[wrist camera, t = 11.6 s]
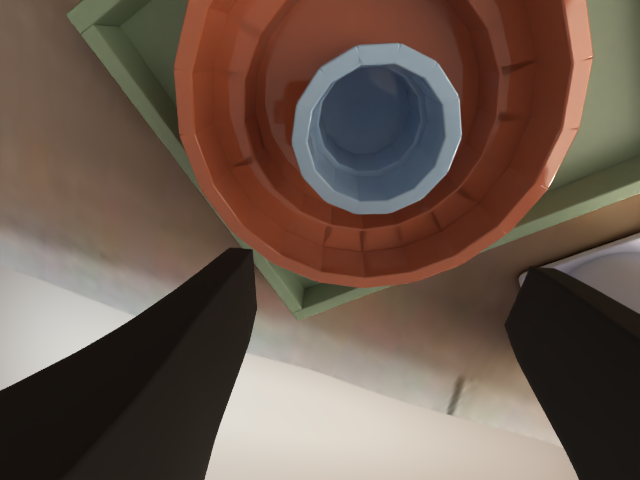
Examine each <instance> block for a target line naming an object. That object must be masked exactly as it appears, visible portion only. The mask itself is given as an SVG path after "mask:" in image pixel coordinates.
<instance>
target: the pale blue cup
mask: <svg viewBox="0 0 640 480" xmlns="http://www.w3.org/2000/svg"><path fill="white" fill-rule="evenodd" d="M458 96H459V95H458V93H457V91H456V90H455V88H454V87H453V85H452V83H451V82H450V80H449V79H448V77H447V76H446V74H445V72H444V71H443V69H442V68H441V66H440V64H439V63H437V62H436V60H434V59H432V58H430V57H428V56H426V55H424V54H422V53H420V52H418V51H416V50H414V49H412V48H410V47H408V46H406V45H404V44H402V43H368V44H353V45H350V46H348V47H346V48H345V49H343V50H342V51H340V52H338V53H337V54H335V55H333V56H332V57H330V58H329V59H327V60H326V61H325V62H324V63H323V64H322V65H321V67H320V68H319V69H318V70H317V72H316V73H315V75H314V76H313V78H312V79H311V81H310V83H309V84H308V86H307V87H306V89H305V90H304V92H303V94H302V95H301V97H300V98H299V100H298V101H297V105H296V108H295V116H294V123H293V131H292V139H291V141H292V147H293V150H294V154H295V157H296V160H297V163H298V166H299V169H300V172H301V175H302V176H303V179H304V180H305V181H306V182H307V183H308V184H309V185H310V186H311V187H312V188H313V189H314V190H315V191H316V193H317V194H318V195H319V196H320V197H321V198H322V199H323V200H324V201H326V202H327V203H329V204H332V205H334V206H337V207H339V208H342V209H344V210H346V211H349V212H351V213H354V214H388V213H392V212H395V211H397V210H399V209H401V208H404V207H406V206H408V205H411V204H413V203H415V202H417V201H420V200H421V199H423V198H424V197H425V196H426V195H427V194H428V193H429V192H430V191H431V190H432V189H433V188H434V187H435V186H436V185H437V183H438V182H439V181H440V180H441V179H442V178H443V177H444V176H445V175H446V174H447V172H448V171H449V169H450V166H451V164H452V161H453V158H454V156H455V153H456V151H457V148H458V146H459V143H460V141H461V136H462V126H461V111H460V98H459V97H458Z"/></svg>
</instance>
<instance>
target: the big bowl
mask: <svg viewBox="0 0 640 480" xmlns="http://www.w3.org/2000/svg"><path fill="white" fill-rule="evenodd" d="M368 43H402V44H404V45H406V46H408V47H410V48H412V49H414V50H416V51H418V52H420V53H422V54H424V55H426V56H428V57H430V58H432V59H434V60H436V62H437V63H439V64H440V66H441V68H442V69H443V71H444V72H445V74H446V76H447V77H448V79H449V80H450V82H451V83H452V85H453V87H454V88H455V90H456V91H457V93H458V95H459V96H458V97H459V98H460V111H461V126H462V136H461V141H460V143H459V146H458V148H457V151H456V153H455V156H454V158H453V161H452V164H451V166H450V169H449V171H448V172H447V174H446V175H445V176H444V177H443V178H442V179H441V180H440V181H439V182H438V183H437V185H436V186H435V187H434V188H433V189H432V190H431V191H430V192H429V193H428V194H427V195H426V196H425V197H424V198H423V199H421V200H420V201H417V202H415V203H413V204H411V205H408V206H406V207H404V208H401V209H399V210H397V211H395V212H392V213H388V214H354V213H351V212H349V211H346V210H344V209H342V208H339V207H337V206H334V205H332V204H329V203H327V202H326V201H324V200H323V199H322V198H321V197H320V196H319V195H318V194H317V193H316V191H315V190H314V189H313V188H312V187H311V186H310V185H309V184H308V183H307V182H306V181H305V180H304V179H303V176H302V175H301V172H300V169H299V166H298V163H297V160H296V157H295V154H294V150H293V147H292V141H291V139H292V131H293V123H294V116H295V108H296V105H297V101H298V100H299V98H300V97H301V95H302V94H303V92H304V90H305V89H306V87H307V86H308V84H309V83H310V81H311V79H312V78H313V76H314V75H315V73H316V72H317V70H318V69H319V68H320V67H321V65H322V64H323V63H324V62H325V61H326V60H327V59H329V58H330V57H332V56H333V55H335V54H337V53H338V52H340V51H342V50H343V49H345V48H346V47H348V46H350V45H353V44H368ZM592 56H593V48H592V40H591V32H590V25H589V17H588V9H587V1H586V0H188V3H187V7H186V12H185V16H184V21H183V26H182V30H181V35H180V39H179V44H178V49H177V53H176V58H175V63H174V68H175V69H174V80H175V92H176V104H177V116H178V128H179V134H180V138H181V141H182V144H183V146H184V149H185V151H186V154H187V157H188V159H189V162H190V164H191V167H192V169H193V172H194V175H195V177H196V180H197V182H198V185H199V188H200V189H201V192H202V193H203V194H204V196H205V197H206V198H207V200H208V201H209V202H210V204H211V205H212V206H213V208H214V209H215V210H216V212H217V213H218V214H219V216H220V217H221V218H222V220H223V221H224V222H225V223H226V225H227V226H228V227H229V229H230V230H231V231H232V232H233V233H234V234H235V235H236V236H237V237H239V238H240V239H241V240H242V241H244V242H245V243H246V244H248V245H249V246H250V247H252V248H253V249H254V250H256V251H257V252H258V253H259V254H261V255H262V256H263V257H265V258H266V259H267V260H269V261H270V262H271V263H273V264H275V265H277V266H280V267H282V268H284V269H287V270H289V271H292V272H294V273H297V274H299V275H301V276H304V277H306V278H309V279H311V280H314V281H317V282H320V283H328V284H335V285H342V286H350V287H357V288H364V287H365V288H372V287H381V286H390V285H399V284H408V283H412V282H417V281H419V280H422V279H425V278H428V277H430V276H433V275H436V274H438V273H441V272H444V271H447V270H449V269H452V268H455V267H457V266H460V265H461V264H464V263H465V262H467V261H468V260H470V259H471V258H473V257H474V256H476V255H477V254H479V253H480V252H481V251H483V250H484V249H486V248H487V247H489V246H490V245H492V244H493V243H495V242H496V241H498V240H499V239H501V238H502V237H504V236H505V235H506V234H507V233H509V232H510V231H511V230H512V229H513V228H514V227H515V226H516V224H517V223H518V222H519V221H520V220H521V219H522V218H523V217H524V216H525V214H526V213H527V212H528V211H529V210H530V209H531V208H532V207H533V206H534V204H535V203H536V202H537V201H538V200H539V199H540V198H541V197H542V196H543V194H544V193H545V192H546V191H547V190H548V188H549V187H550V185H551V183H552V181H553V179H554V177H555V175H556V173H557V171H558V169H559V167H560V165H561V163H562V161H563V159H564V157H565V155H566V154H567V152H568V150H569V148H570V146H571V144H572V142H573V140H574V138H575V136H576V134H577V132H578V128H579V127H580V123H581V118H582V113H583V108H584V103H585V97H586V92H587V87H588V82H589V77H590V72H591V67H592V62H593V57H592Z"/></svg>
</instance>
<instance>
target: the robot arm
mask: <svg viewBox="0 0 640 480" xmlns="http://www.w3.org/2000/svg"><path fill="white" fill-rule="evenodd" d="M519 283H520V287H521V288H520V291H519V293H518V295H517V297H516V300H515V302H514V304H513V307H512V309H511V311H510V313H509V316H508V318H507V320H506V322H505V328H506V331H507V334H508V337H509V340H510V343H511V346H512V348H513V351H514V353H515V356H516V358H517V361H518V363H519V365H520V367H521V369H522V371H523V373H524V375H525V376H526V378H527V380H528V382H529V384H530V386H531V388H532V390H533V392H534V394H535V395H536V397H537V399H538V401H539V403H540V405H541V407H542V408H543V410H544V412H545V414H546V416H547V418H548V419H549V421H550V423H551V425H552V427H553V429H554V431H555V432H556V434H557V436H558V438H559V440H560V442H561V444H562V445H563V447H564V449H565V451H566V453H567V455H568V457H569V459H570V461H571V463H572V465H573V467H574V469H575V471H576V474H577V476H578V478H579V480H640V233H638V234H635V235H632V236H629V237H626V238H623V239H620V240H617V241H614V242H611V243H608V244H606V245H603V246H600V247H597V248H594V249H591V250H588V251H585V252H582V253H579V254H576V255H574V256H571V257H568V258H565V259H562V260H559V261H556V262H553V263H550V264H547V265H544V266H542V267H530V268H529V270H528V271H527V272H525V273H523V274H522V275H520V277H519ZM256 311H257V301H256V287H255V273H254V259H253V249H243V248H229V249H227V250H226V251H225V252H223V253H222V254H221V255H219V256H218V257H217V258H216V259H214V260H213V261H212V262H211V263H209V264H208V265H207V266H205V267H204V268H203V269H202V270H200V271H199V272H198V273H196V274H195V275H194V276H192V277H191V278H190V279H189V280H187V281H186V282H185V283H183V284H182V285H181V286H179V287H178V288H177V289H175V290H174V291H173V292H171V293H170V294H168V295H167V296H165V297H164V298H162V299H161V300H160V301H158V302H157V303H155V304H154V305H152V306H151V307H149V308H148V309H146V310H145V311H144V312H142V313H141V314H139V315H138V316H136V317H135V318H133V319H132V320H130V321H128V322H127V323H125V324H124V325H122V326H121V327H119V328H117V329H116V330H114V331H112V332H111V333H109V334H107V335H105V336H104V337H102V338H100V339H99V340H97V341H95V342H94V343H92V344H90V345H88V346H87V347H85V348H83V349H81V350H79V351H78V352H76V353H74V354H72V355H70V356H68V357H66V358H65V359H62V360H60V361H58V362H56V363H55V364H52V365H51V366H49V367H47V368H45V369H43V370H41V371H39V372H37V373H35V374H33V375H31V376H29V377H27V378H25V379H23V380H21V381H19V382H17V383H15V384H13V385H11V386H9V387H7V388H5V389H3V390H1V391H0V480H204V479H205V475H206V471H207V468H208V464H209V460H210V456H211V452H212V448H213V445H214V441H215V438H216V435H217V432H218V429H219V426H220V423H221V420H222V417H223V414H224V411H225V409H226V406H227V403H228V401H229V398H230V395H231V392H232V389H233V387H234V384H235V381H236V378H237V376H238V373H239V370H240V367H241V364H242V362H243V359H244V356H245V353H246V350H247V348H248V345H249V342H250V338H251V333H252V329H253V325H254V320H255V315H256Z"/></svg>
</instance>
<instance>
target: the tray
mask: <svg viewBox="0 0 640 480" xmlns="http://www.w3.org/2000/svg"><path fill="white" fill-rule="evenodd" d="M586 1H587V9H588V17H589V25H590V32H591V40H592V48H593V56H592V57H593V62H592V67H591V72H590V77H589V82H588V87H587V92H586V97H585V103H584V108H583V113H582V118H581V123H580V127H579V128H578V132H577V134H576V136H575V138H574V140H573V142H572V144H571V146H570V148H569V150H568V152H567V154H566V155H565V157H564V159H563V161H562V163H561V165H560V167H559V169H558V171H557V173H556V175H555V177H554V179H553V181H552V183H551V185H550V187H549V188H548V190H547V191H546V192H545V193H544V194H543V196H542V197H541V198H540V199H539V200H538V201H537V202H536V203H535V204H534V206H533V207H532V208H531V209H530V210H529V211H528V212H527V213H526V214H525V216H524V217H523V218H522V219H521V220H520V221H519V222H518V223H517V224H516V226H515V227H514V228H513V229H512V230H511V231H510V232H509V233H507V234H506V235H505V236H504V237H502V238H501V239H499V240H498V241H496V242H495V243H493V244H492V245H490V246H489V247H487V248H486V249H484V250H483V251H481V252H484V251H486V250H489V249H492V248H494V247H497V246H500V245H502V244H505V243H508V242H510V241H513V240H516V239H518V238H521V237H524V236H527V235H529V234H532V233H535V232H537V231H540V230H543V229H545V228H548V227H551V226H553V225H556V224H559V223H561V222H564V221H567V220H569V219H572V218H575V217H577V216H580V215H583V214H586V213H588V212H591V211H594V210H596V209H599V208H602V207H604V206H607V205H610V204H612V203H615V202H618V201H620V200H623V199H626V198H628V197H631V196H634V195H636V194H639V193H640V0H586ZM187 3H188V0H82V1H81V2H80V3H79V4H78V5H77V6H75V7H74V8H73V9H72V10H71V11H70V12H69V13H67V14H66V16H67V17H68V19H69V20H70V21H71V23H72V24H73V25H74V27H75V28H76V29H77V31H78V32H79V33H80V34H81V36H82V37H83V39H84V40H85V41H86V42H87V44H88V45H89V46H90V48H91V49H92V50H93V52H94V53H95V54H96V56H97V57H98V58H99V60H100V61H101V62H102V64H103V65H104V66H105V68H106V69H107V70H108V71H109V73H110V74H111V75H112V77H113V78H114V79H115V81H116V82H117V83H118V85H119V86H120V87H121V89H122V90H123V91H124V93H125V94H126V95H127V97H128V98H129V99H130V100H131V102H132V103H133V104H134V106H135V107H136V108H137V110H138V111H139V112H140V114H141V115H142V116H143V118H144V119H145V120H146V122H147V123H148V124H149V126H150V127H151V128H152V130H153V131H154V132H155V133H156V135H157V136H158V137H159V139H160V140H161V141H162V143H163V144H164V145H165V147H166V148H167V149H168V151H169V152H170V153H171V155H172V156H173V157H174V159H175V160H176V161H177V162H178V164H179V165H180V166H181V168H182V169H183V170H184V172H185V173H186V174H187V176H188V177H189V178H190V180H191V181H192V182H193V184H194V185H195V186H196V188H197V189H198V190H199V191H200V193H201V194H202V195H203V197H204V198H205V199H206V201H207V202H208V203H209V205H210V206H211V207H212V209H213V210H214V211H215V213H216V214H217V215H218V217H219V218H220V219H221V220H222V218H221V217H220V216H219V214H218V213H217V212H216V210H215V209H214V208H213V206H212V205H211V204H210V202H209V201H208V200H207V198H206V197H205V196H204V194H203V193H202V192H201V189H200V188H199V185H198V182H197V180H196V177H195V175H194V172H193V169H192V167H191V164H190V162H189V159H188V157H187V154H186V151H185V149H184V146H183V144H182V141H181V138H180V134H179V128H178V116H177V104H176V92H175V80H174V69H175V68H174V63H175V58H176V53H177V49H178V44H179V39H180V35H181V30H182V26H183V21H184V16H185V12H186V7H187ZM222 222H223V223H224V224H225V226H226V227H227V228H228V230H229V231H230V232H231V234H232V235H233V236H234V238H235V239H236V240H237V242H238V243H239V244H240V246H241V247H242V248H243V249H253V248H252V247H250V246H249V245H248V244H246V243H245V242H244V241H242V240H241V239H240V238H239V237H237V236H236V235H235V234H234V233H233V232H232V231H231V230H230V229H229V227H228V226H227V225H226V223H225V222H224V221H223V220H222ZM481 252H480V253H481ZM253 259H254V264H255V265H256V267H257V268H258V269H259V271H260V272H261V273H262V275H263V276H264V277H265V278H266V280H267V281H268V282H269V284H270V285H271V286H272V288H273V289H274V290H275V292H276V293H277V294H278V296H279V297H280V298H281V300H282V301H283V302H284V304H285V305H286V306H287V308H288V309H289V310H290V311H291V313H292V314H293V315H294V316H295V318H296V319H297V320H298V321H299V320H301V319H304V318H307V317H309V316H312V315H315V314H317V313H320V312H323V311H325V310H328V309H331V308H333V307H336V306H339V305H342V304H344V303H347V302H350V301H352V300H355V299H358V298H360V297H363V296H366V295H368V294H371V293H374V292H376V291H379V290H382V289H384V288H387V287H390V286H392V285H390V286H381V287H372V288H365V287H364V288H357V287H350V286H342V285H335V284H328V283H320V282H317V281H314V280H311V279H309V278H306V277H304V276H301V275H299V274H297V273H294V272H292V271H289V270H287V269H284V268H282V267H280V266H277V265H275V264H273V263H271V262H270V261H269V260H267V259H266V258H265V257H263V256H262V255H261V254H259V253H258V252H257V251H256V250H254V249H253Z"/></svg>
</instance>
